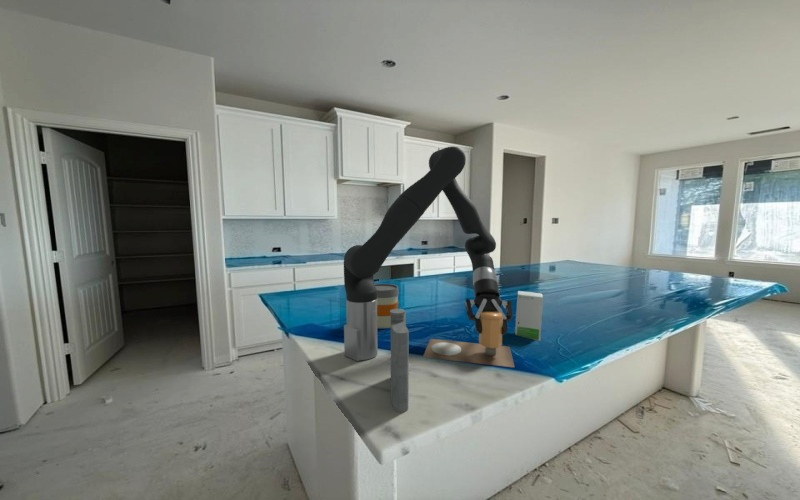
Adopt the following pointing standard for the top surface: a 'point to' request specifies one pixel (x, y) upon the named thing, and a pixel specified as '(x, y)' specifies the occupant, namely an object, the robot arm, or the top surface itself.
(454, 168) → the robot arm
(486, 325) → the cap
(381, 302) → the reusable coffee cup
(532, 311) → the skincare box
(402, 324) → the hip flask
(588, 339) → the top surface
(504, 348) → the post board
